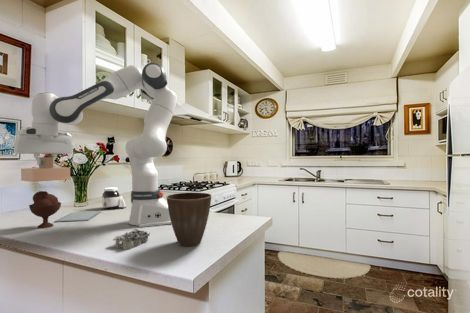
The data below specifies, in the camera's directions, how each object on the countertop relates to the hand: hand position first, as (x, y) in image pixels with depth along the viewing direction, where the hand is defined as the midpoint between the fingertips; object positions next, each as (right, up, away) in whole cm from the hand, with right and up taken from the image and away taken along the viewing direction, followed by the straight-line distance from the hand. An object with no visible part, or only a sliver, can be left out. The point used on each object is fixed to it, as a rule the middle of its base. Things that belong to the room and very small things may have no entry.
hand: (45, 164), depth 107 cm
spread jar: (+11, -26, +39) cm, 48 cm away
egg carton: (+45, -26, -21) cm, 56 cm away
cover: (0, -6, 0) cm, 6 cm away
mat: (+4, -26, +17) cm, 31 cm away
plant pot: (+64, -26, -21) cm, 72 cm away
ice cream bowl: (0, -26, 0) cm, 26 cm away
